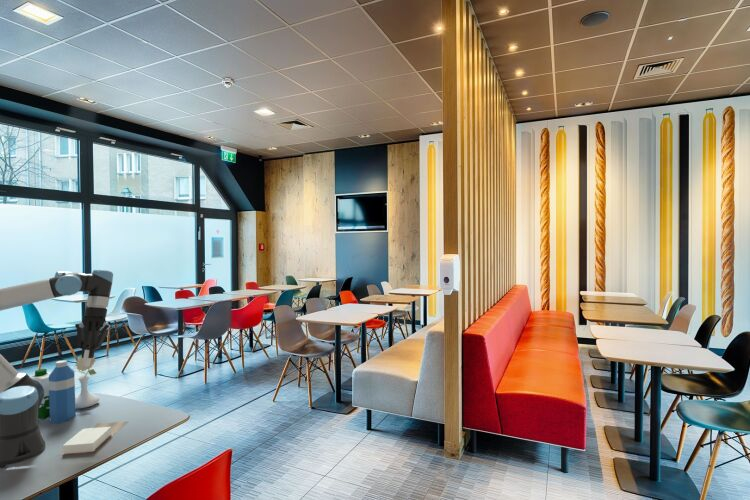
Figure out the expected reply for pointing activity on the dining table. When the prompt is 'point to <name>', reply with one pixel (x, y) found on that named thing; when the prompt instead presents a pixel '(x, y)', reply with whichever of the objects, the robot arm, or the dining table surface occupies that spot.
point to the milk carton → (43, 378)
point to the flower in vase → (85, 386)
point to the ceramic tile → (86, 440)
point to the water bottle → (62, 393)
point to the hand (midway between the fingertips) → (85, 366)
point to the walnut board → (114, 429)
